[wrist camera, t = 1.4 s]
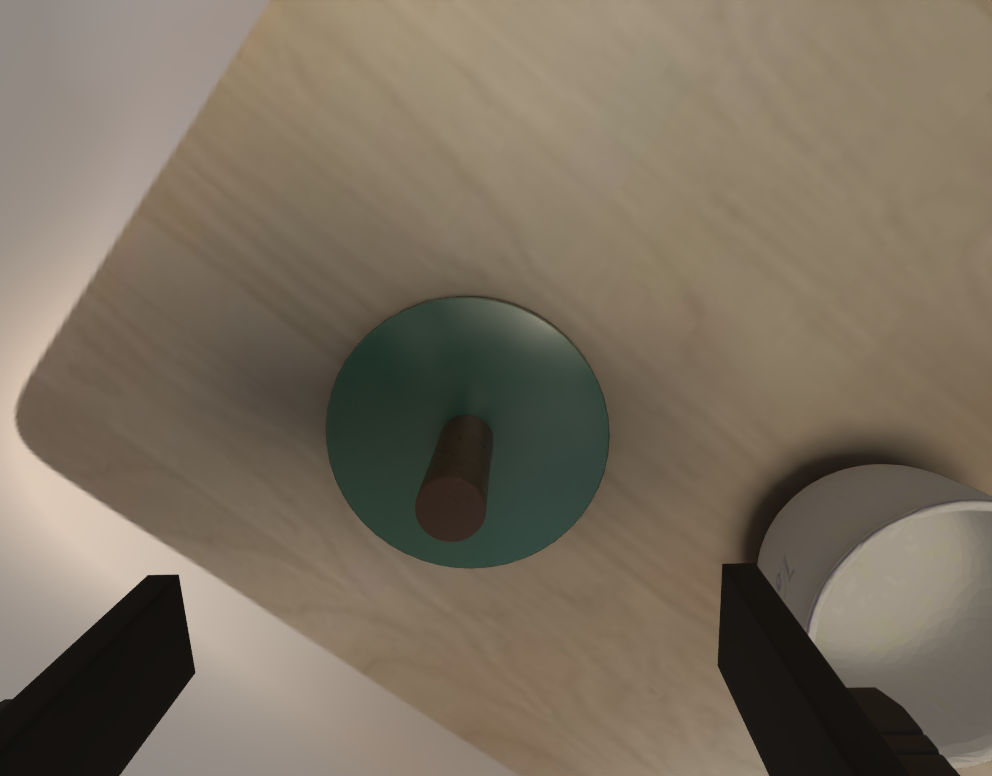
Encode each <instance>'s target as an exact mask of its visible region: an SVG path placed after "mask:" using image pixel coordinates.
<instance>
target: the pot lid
mask: <svg viewBox="0 0 992 776" xmlns="http://www.w3.org/2000/svg"><path fill="white" fill-rule="evenodd" d="M326 444H327V450H328V455H329V461H330V464H331V467H332V471H333V474H334V477H335V479H336V481H337V484H338V486H339V488H340V490H341V492H342V494H343V496H344V497H345V499H346V501H347V502H348V504H349V505H350V507H351V508H352V510H353V511H354V512H355V513H356V515H357V516H358V517H359V518H360V519H361V521H362V522H363V523H364V524H365V525H366V526H367V527H368V528H369V529H371V530H372V531H373V532H374V533H375V534H376V535H377V536H379V537H380V538H381V539H383V540H384V541H385V542H387V543H388V544H389V545H391V546H393V547H395V548H396V549H398V550H400V551H402V552H403V553H405V554H408V555H410V556H413V557H415V558H417V559H420V560H423V561H426V562H430V563H433V564H437V565H442V566H448V567H454V568H485V567H494V566H499V565H504V564H508V563H511V562H514V561H517V560H520V559H523V558H526V557H528V556H530V555H532V554H534V553H536V552H538V551H540V550H542V549H544V548H545V547H547V546H548V545H550V544H551V543H553V542H555V541H556V540H557V539H558V538H559V537H561V536H562V535H563V534H564V533H566V532H567V531H568V530H569V529H570V528H571V527H572V526H573V525H574V524H575V522H576V521H577V520H578V519H579V518H580V517H581V516H582V514H583V513H584V511H585V510H586V509H587V507H588V506H589V504H590V503H591V501H592V499H593V497H594V495H595V493H596V491H597V489H598V488H599V485H600V482H601V479H602V476H603V474H604V471H605V466H606V462H607V457H608V449H609V421H608V414H607V409H606V404H605V400H604V397H603V394H602V391H601V389H600V386H599V383H598V381H597V379H596V377H595V375H594V373H593V371H592V369H591V367H590V366H589V364H588V363H587V361H586V360H585V358H584V357H583V355H582V354H581V353H580V351H579V350H578V349H577V347H576V346H575V345H574V344H573V343H572V342H571V341H570V340H569V339H568V338H567V337H566V336H565V335H564V334H563V333H562V332H561V331H559V330H558V329H557V328H556V327H555V326H553V325H552V324H551V323H549V322H548V321H546V320H545V319H543V318H541V317H540V316H538V315H537V314H535V313H533V312H531V311H528V310H526V309H524V308H522V307H520V306H517V305H514V304H511V303H508V302H504V301H501V300H497V299H491V298H484V297H472V296H457V297H447V298H440V299H435V300H431V301H427V302H423V303H420V304H418V305H415V306H413V307H410V308H407V309H405V310H403V311H401V312H400V313H398V314H396V315H394V316H392V317H390V318H389V319H387V320H386V321H384V322H383V323H382V324H380V325H379V326H378V327H376V328H375V329H374V330H372V331H371V332H370V333H369V334H368V335H367V336H366V337H365V338H364V339H363V340H362V341H361V342H360V343H359V344H358V345H357V347H356V348H355V349H354V350H353V352H352V353H351V354H350V356H349V357H348V358H347V360H346V362H345V364H344V365H343V367H342V369H341V371H340V372H339V374H338V377H337V379H336V382H335V384H334V387H333V389H332V392H331V396H330V400H329V405H328V409H327V419H326Z"/></svg>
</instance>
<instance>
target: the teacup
mask: <svg viewBox="0 0 992 776" xmlns="http://www.w3.org/2000/svg"><path fill="white" fill-rule="evenodd" d="M757 566H758V567H759V569H760V570H761V572H762V573H763V574H764V576H765V577H766V578H767V580H768V581H769V582H770V584H771V585H772V587H773V588H774V589H775V591H776V592H777V593H778V595H779V596H780V597H781V599H782V600H783V602H784V603H785V604H786V606H787V607H788V608H789V610H790V611H791V613H792V614H793V615H794V617H795V618H796V619H797V621H798V622H799V623H800V625H801V626H802V628H803V629H804V630H805V632H806V633H807V634H808V636H809V637H810V638H811V640H812V641H813V643H814V644H815V645H816V647H817V648H818V649H819V651H820V652H821V653H822V655H823V656H824V658H825V659H826V660H827V662H828V663H829V664H830V666H831V667H832V668H833V670H834V671H835V673H836V674H837V675H838V677H839V678H840V679H841V681H842V682H843V684H844V685H845V686H846V688H852V687H876V688H877V689H879V690H880V691H882V692H883V693H884V694H886V695H887V696H889V697H890V698H891V699H893V700H894V701H896V702H897V703H898V704H900V705H901V706H903V707H904V708H905V710H906V711H907V712H908V713H909V714H910V716H911V717H912V718H913V719H914V721H915V722H916V723H917V724H918V725H919V727H920V728H921V729H922V730H923V734H924V735H927V736H928V738H929V739H930V740H931V741H932V742H933V744H934V745H935V746H936V747H937V748H938V750H939V754H940V755H943V756H944V757H945V758H946V759H947V761H948V762H949V763H950V764H951V765H952V767H953V768H954V769H956V768H965V767H970V766H974V765H978V764H981V763H984V762H988V761H991V760H992V496H990V495H988V494H986V493H983V492H981V491H979V490H976V489H974V488H972V487H969V486H967V485H964V484H962V483H959V482H957V481H954V480H952V479H949V478H947V477H944V476H941V475H938V474H935V473H932V472H929V471H926V470H923V469H918V468H913V467H909V466H902V465H891V464H873V465H862V466H856V467H851V468H847V469H843V470H840V471H837V472H835V473H832V474H829V475H827V476H824V477H823V478H821V479H819V480H817V481H815V482H813V483H811V484H810V485H808V486H807V487H805V488H804V489H803V490H801V491H800V492H799V493H798V494H796V495H795V496H794V497H793V498H792V499H791V500H790V501H789V502H788V503H787V504H786V505H785V506H784V507H783V509H782V510H781V511H780V512H779V513H778V514H777V516H776V517H775V519H774V521H773V522H772V524H771V526H770V527H769V529H768V531H767V533H766V535H765V538H764V540H763V543H762V546H761V548H760V553H759V557H758V563H757Z"/></svg>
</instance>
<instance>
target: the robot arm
mask: <svg viewBox="0 0 992 776" xmlns="http://www.w3.org/2000/svg"><path fill="white" fill-rule="evenodd" d="M718 667H719V669H720V672H721V674H722V676H723V678H724V680H725V682H726V684H727V687H728V689H729V691H730V693H731V695H732V697H733V699H734V701H735V704H736V706H737V708H738V710H739V712H740V714H741V716H742V718H743V721H744V723H745V725H746V727H747V729H748V731H749V733H750V736H751V738H752V740H753V742H754V744H755V746H756V748H757V750H758V753H759V755H760V757H761V759H762V761H763V763H764V765H765V767H766V770H767V772H768V774H769V776H960V775H959V774H958V773H957V772H956V770H955V769H954V768H953V767H952V765H951V764H950V763H949V762H948V761H947V759H946V758H945V757H944V756H943V755H940V754H939V750H938V748H937V747H936V746H935V745H934V744H933V742H932V741H931V740H930V739H929V738H928V736H927V735H924V734H923V730H922V729H921V728H920V727H919V725H918V724H917V723H916V722H915V721H914V719H913V718H912V717H911V716H910V714H909V713H908V712H907V711H906V710H905V708H904V707H903V706H901V705H900V704H898V703H897V702H896V701H894V700H893V699H891V698H890V697H889V696H887V695H886V694H884V693H883V692H882V691H880V690H879V689H877V688H876V687H852V688H846V686H845V685H844V684H843V682H842V681H841V679H840V678H839V677H838V675H837V674H836V673H835V671H834V670H833V668H832V667H831V666H830V664H829V663H828V662H827V660H826V659H825V658H824V656H823V655H822V653H821V652H820V651H819V649H818V648H817V647H816V645H815V644H814V643H813V641H812V640H811V638H810V637H809V636H808V634H807V633H806V632H805V630H804V629H803V628H802V626H801V625H800V623H799V622H798V621H797V619H796V618H795V617H794V615H793V614H792V613H791V611H790V610H789V608H788V607H787V606H786V604H785V603H784V602H783V600H782V599H781V597H780V596H779V595H778V593H777V592H776V591H775V589H774V588H773V587H772V585H771V584H770V582H769V581H768V580H767V578H766V577H765V576H764V574H763V573H762V572H761V570H760V569H759V567H758V566H757V565H756V563H742V564H722V585H721V606H720V627H719V649H718ZM194 674H195V668H194V662H193V656H192V650H191V644H190V639H189V633H188V627H187V621H186V615H185V610H184V603H183V598H182V592H181V586H180V580H179V575H148V576H147V577H146V578H145V579H143V580H142V581H141V582H140V583H139V584H138V585H137V586H136V587H135V588H134V589H132V590H131V591H130V592H129V593H128V594H127V595H126V596H125V597H124V598H123V599H122V600H120V601H119V602H118V603H117V604H116V605H115V606H114V607H113V608H112V609H111V610H110V611H109V612H107V613H106V614H105V615H104V616H103V617H102V618H101V619H100V620H99V621H98V622H97V623H95V624H94V625H93V626H92V627H91V628H90V629H89V630H88V631H87V632H86V633H84V634H83V635H82V636H81V637H80V638H79V639H78V640H77V641H76V642H75V643H73V644H72V645H71V646H70V647H69V648H68V649H67V650H66V651H65V652H64V653H63V654H62V655H60V656H59V657H58V658H57V659H56V660H55V661H54V662H53V663H52V664H51V665H50V666H48V667H47V668H46V669H45V670H44V671H43V672H42V673H41V674H40V675H39V676H37V677H36V678H35V679H34V680H33V681H32V682H31V683H30V684H29V685H28V686H27V687H25V688H24V689H23V690H22V691H21V692H20V693H19V694H18V695H17V696H16V697H15V698H14V699H7V700H6V699H5V700H3V701H2V702H0V776H119V775H120V774H121V773H122V771H123V770H124V769H125V767H126V766H127V765H128V763H129V762H130V760H131V759H132V758H133V756H134V755H135V754H136V752H137V751H138V750H139V748H140V747H141V746H142V744H143V743H144V741H145V740H146V739H147V737H148V736H149V735H150V733H151V732H152V731H153V729H154V728H155V727H156V725H157V724H158V722H159V721H160V720H161V718H162V717H163V716H164V714H165V713H166V712H167V710H168V709H169V708H170V706H171V705H172V704H173V702H174V701H175V699H176V698H177V697H178V695H179V694H180V693H181V691H182V690H183V689H184V687H185V686H186V685H187V683H188V682H189V680H190V679H191V678H192V677H193V675H194Z"/></svg>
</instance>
